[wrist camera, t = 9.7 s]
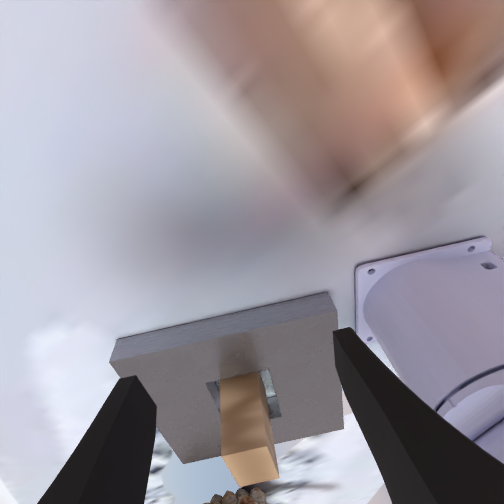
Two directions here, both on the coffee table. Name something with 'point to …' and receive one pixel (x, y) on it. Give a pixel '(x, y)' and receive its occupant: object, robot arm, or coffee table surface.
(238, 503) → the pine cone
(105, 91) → the coffee table surface
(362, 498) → the coffee table surface
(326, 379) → the collar plate
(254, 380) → the tan cardboard box
